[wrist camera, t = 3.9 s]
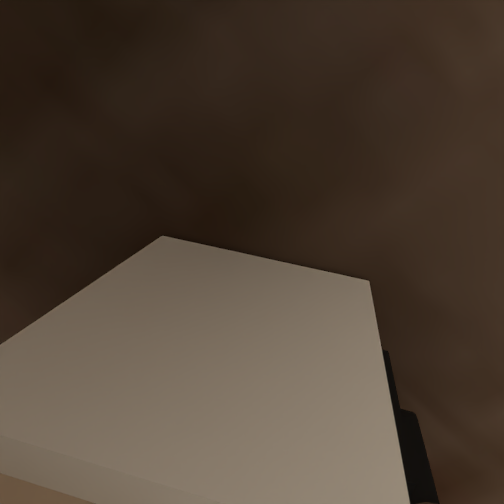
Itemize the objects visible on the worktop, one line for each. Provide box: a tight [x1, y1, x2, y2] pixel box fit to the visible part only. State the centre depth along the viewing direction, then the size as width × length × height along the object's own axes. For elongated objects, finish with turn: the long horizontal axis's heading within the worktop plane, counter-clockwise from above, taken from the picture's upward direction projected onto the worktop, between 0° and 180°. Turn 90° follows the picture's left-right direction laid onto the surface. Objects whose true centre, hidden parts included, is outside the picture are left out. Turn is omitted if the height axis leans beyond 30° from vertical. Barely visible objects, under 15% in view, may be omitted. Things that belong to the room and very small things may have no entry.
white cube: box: [0, 236, 410, 504], centre depth 8 cm, size 6×6×8 cm
